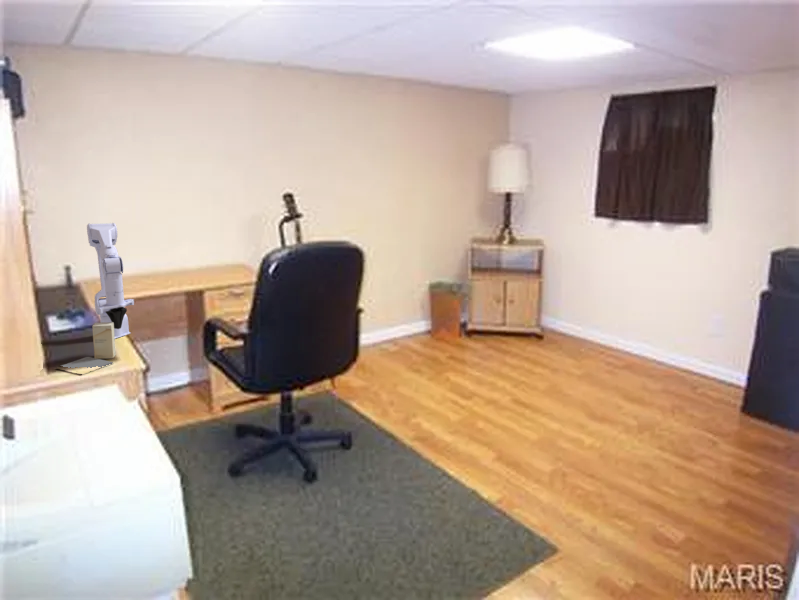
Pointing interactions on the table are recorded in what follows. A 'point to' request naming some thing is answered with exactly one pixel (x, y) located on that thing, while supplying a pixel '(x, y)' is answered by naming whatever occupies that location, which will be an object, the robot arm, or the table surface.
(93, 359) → the mat
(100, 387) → the table surface
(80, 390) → the table surface
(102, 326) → the skincare box
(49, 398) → the table surface
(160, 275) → the table surface
